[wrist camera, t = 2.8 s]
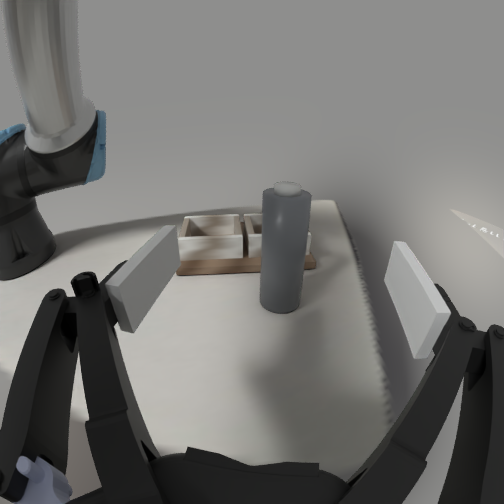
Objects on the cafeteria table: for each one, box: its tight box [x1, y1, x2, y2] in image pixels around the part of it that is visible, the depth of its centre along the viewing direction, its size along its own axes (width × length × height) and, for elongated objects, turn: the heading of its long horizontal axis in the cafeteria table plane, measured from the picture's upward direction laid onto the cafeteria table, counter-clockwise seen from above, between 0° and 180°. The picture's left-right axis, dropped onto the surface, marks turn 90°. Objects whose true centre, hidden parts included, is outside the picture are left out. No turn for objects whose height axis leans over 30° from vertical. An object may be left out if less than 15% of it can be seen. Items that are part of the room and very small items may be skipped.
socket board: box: [176, 213, 316, 275], centre depth 40 cm, size 18×14×4 cm
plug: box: [260, 182, 311, 313], centre depth 27 cm, size 4×4×13 cm
